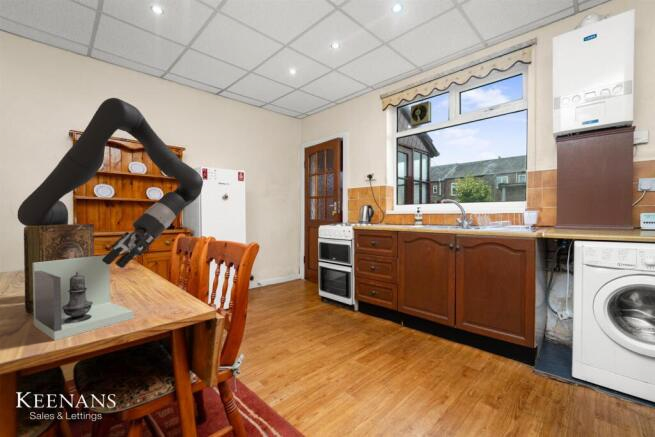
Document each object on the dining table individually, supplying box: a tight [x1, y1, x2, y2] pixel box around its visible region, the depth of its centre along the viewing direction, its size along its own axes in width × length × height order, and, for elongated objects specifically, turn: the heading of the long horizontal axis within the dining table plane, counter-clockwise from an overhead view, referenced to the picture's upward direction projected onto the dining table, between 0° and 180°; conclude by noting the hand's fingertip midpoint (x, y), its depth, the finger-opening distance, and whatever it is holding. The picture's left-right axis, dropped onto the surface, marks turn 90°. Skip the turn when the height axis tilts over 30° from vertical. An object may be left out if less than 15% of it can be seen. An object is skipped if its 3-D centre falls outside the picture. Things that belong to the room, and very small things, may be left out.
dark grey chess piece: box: [62, 272, 93, 323], centre depth 72 cm, size 6×6×12 cm
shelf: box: [33, 254, 135, 341], centre depth 76 cm, size 16×16×16 cm
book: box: [23, 223, 95, 314], centre depth 88 cm, size 16×6×25 cm, turn 168°
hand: (111, 264), depth 78 cm, fingers open, 8 cm apart
